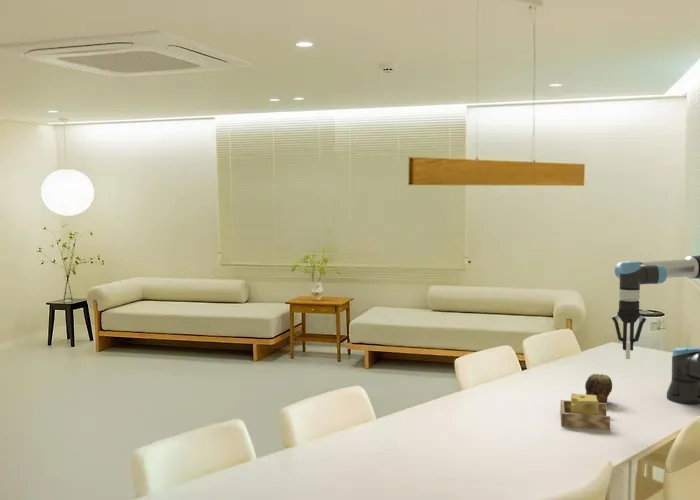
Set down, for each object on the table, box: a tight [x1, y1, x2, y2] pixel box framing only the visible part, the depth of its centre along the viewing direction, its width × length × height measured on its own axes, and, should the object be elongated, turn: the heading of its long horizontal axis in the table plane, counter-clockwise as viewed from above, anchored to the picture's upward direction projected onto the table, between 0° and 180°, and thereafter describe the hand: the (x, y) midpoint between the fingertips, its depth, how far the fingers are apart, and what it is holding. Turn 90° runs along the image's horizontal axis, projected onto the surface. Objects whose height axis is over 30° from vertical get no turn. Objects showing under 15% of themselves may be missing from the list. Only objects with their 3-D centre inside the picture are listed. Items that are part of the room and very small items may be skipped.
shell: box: [584, 373, 613, 404], centre depth 304 cm, size 11×11×12 cm
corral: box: [559, 399, 611, 431], centre depth 279 cm, size 18×18×5 cm
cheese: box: [570, 393, 599, 415], centre depth 277 cm, size 10×11×10 cm
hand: (627, 358), depth 280 cm, fingers closed
